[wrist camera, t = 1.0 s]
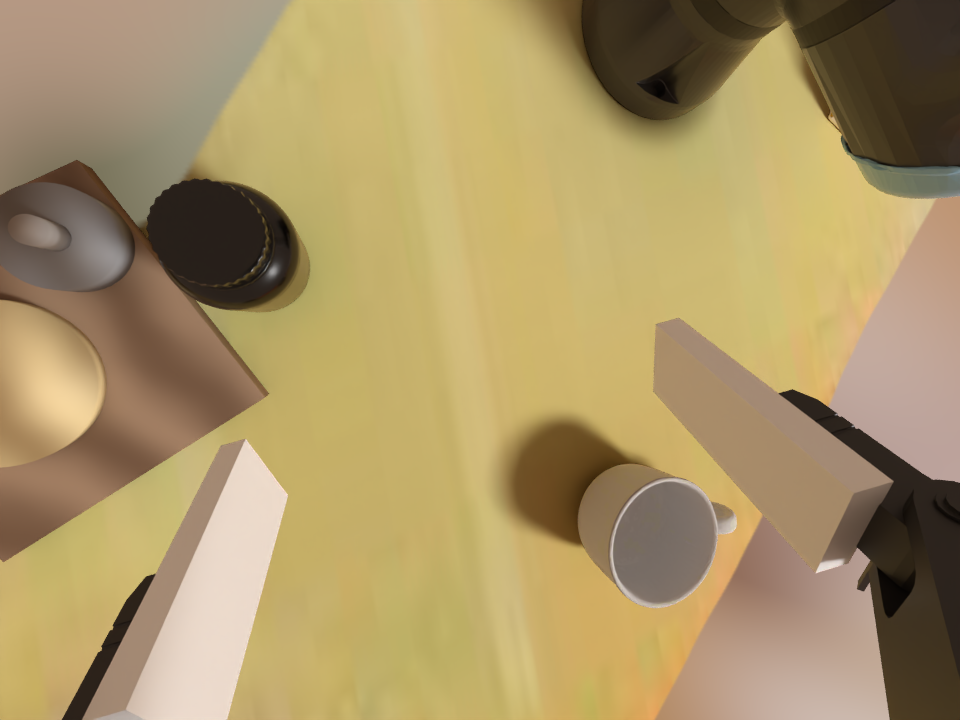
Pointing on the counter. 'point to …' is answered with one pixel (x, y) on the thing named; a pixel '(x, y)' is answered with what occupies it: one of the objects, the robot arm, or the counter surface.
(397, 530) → the counter surface
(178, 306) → the board
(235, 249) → the supplement bottle
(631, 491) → the teacup
